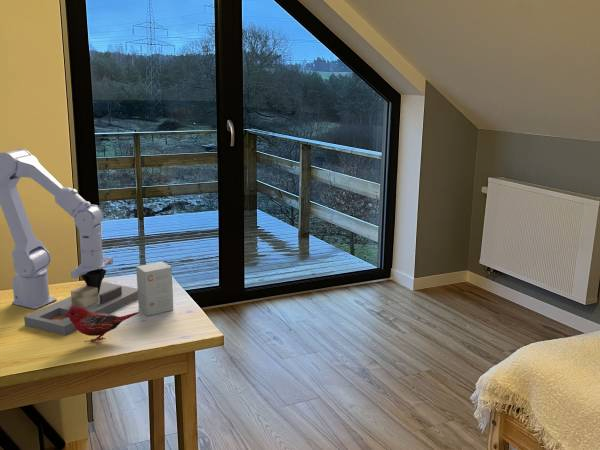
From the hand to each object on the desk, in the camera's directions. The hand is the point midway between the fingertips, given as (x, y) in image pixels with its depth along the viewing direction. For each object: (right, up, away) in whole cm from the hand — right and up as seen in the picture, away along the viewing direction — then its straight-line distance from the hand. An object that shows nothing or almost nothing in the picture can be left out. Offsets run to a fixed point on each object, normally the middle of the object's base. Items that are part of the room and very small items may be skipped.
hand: (94, 294), depth 167 cm
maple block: (-1, -2, -3) cm, 4 cm away
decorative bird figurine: (+10, -9, -20) cm, 24 cm away
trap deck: (-1, -4, -2) cm, 5 cm away
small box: (+18, -4, -1) cm, 18 cm away
